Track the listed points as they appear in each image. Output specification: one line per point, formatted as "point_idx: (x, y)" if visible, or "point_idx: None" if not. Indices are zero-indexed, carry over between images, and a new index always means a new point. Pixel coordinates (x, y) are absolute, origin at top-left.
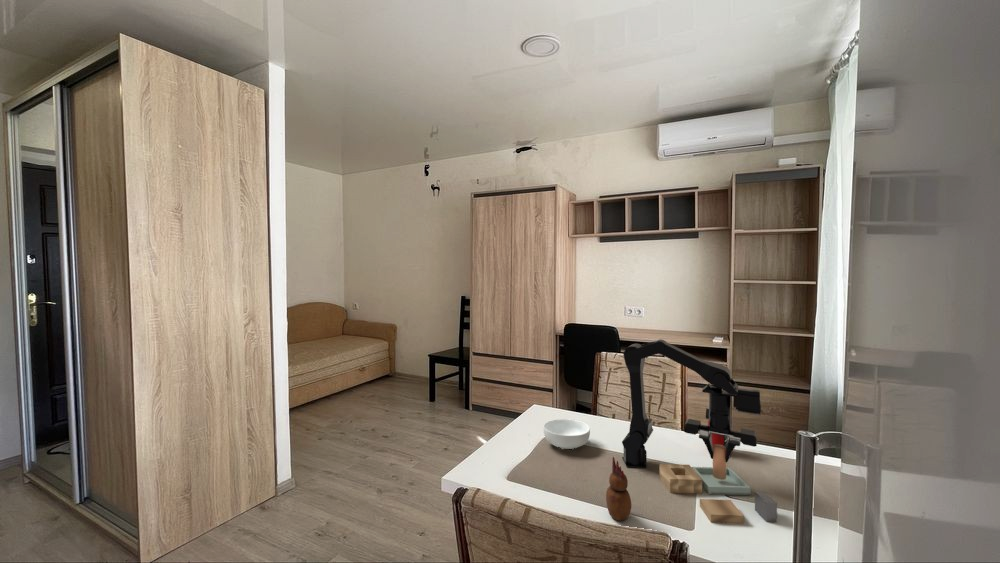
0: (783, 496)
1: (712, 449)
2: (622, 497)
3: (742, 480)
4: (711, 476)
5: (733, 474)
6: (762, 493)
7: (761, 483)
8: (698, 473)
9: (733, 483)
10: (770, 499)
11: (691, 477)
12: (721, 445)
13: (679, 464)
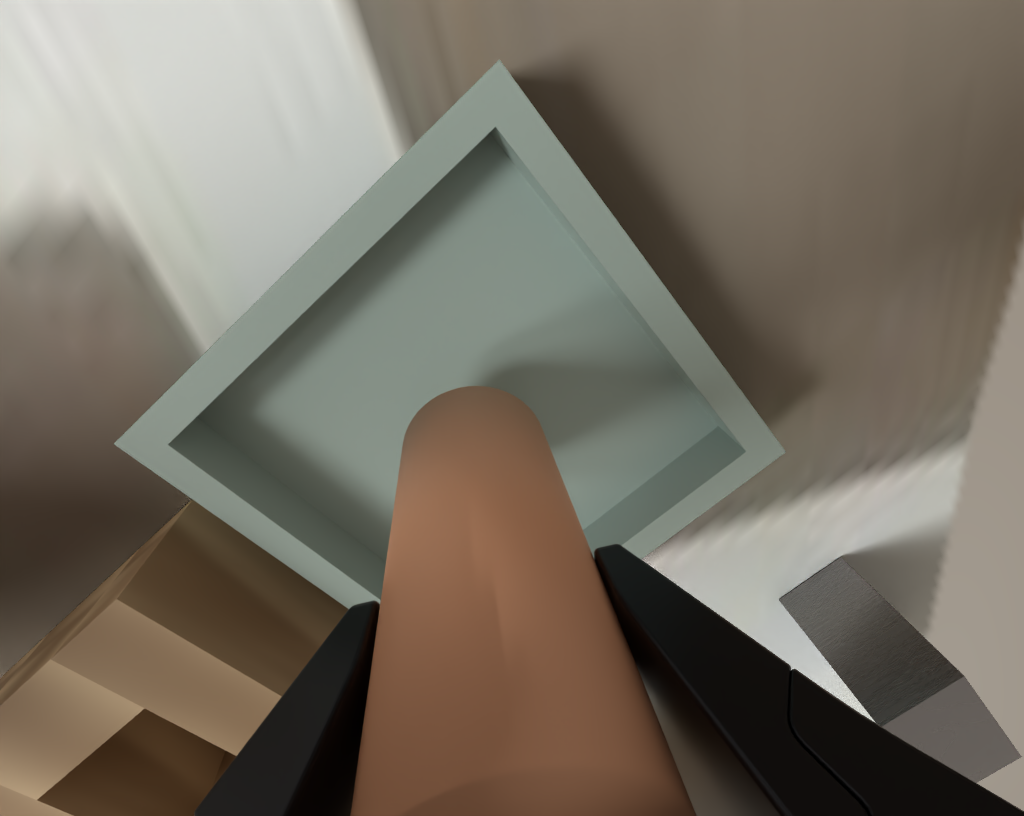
0: (1014, 213)
1: (348, 780)
2: None
3: (704, 353)
4: (363, 362)
5: (586, 244)
6: (937, 714)
7: (843, 44)
8: (271, 539)
9: (594, 349)
10: (984, 751)
11: None
12: (546, 785)
13: (35, 675)
